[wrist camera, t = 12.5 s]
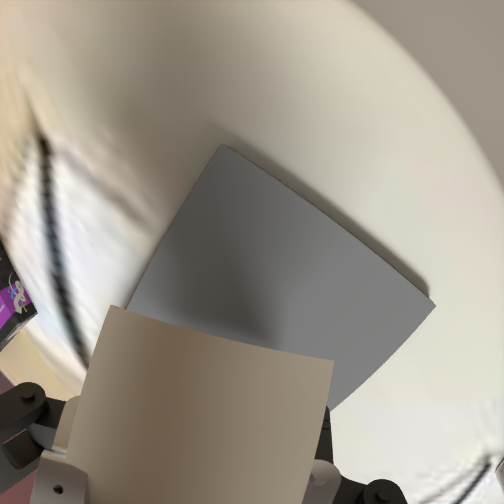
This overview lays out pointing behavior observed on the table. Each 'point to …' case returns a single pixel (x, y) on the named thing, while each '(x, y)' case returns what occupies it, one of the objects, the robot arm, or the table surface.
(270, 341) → the mat
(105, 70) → the table surface
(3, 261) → the box
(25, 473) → the robot arm
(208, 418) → the block
